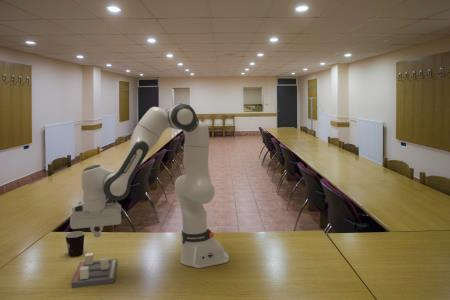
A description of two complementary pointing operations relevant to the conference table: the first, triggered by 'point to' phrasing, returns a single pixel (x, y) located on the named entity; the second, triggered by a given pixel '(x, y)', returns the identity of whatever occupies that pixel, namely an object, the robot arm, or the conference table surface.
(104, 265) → the block
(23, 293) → the conference table surface
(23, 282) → the conference table surface
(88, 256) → the block
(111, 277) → the panel
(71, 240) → the coffee mug
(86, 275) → the block
